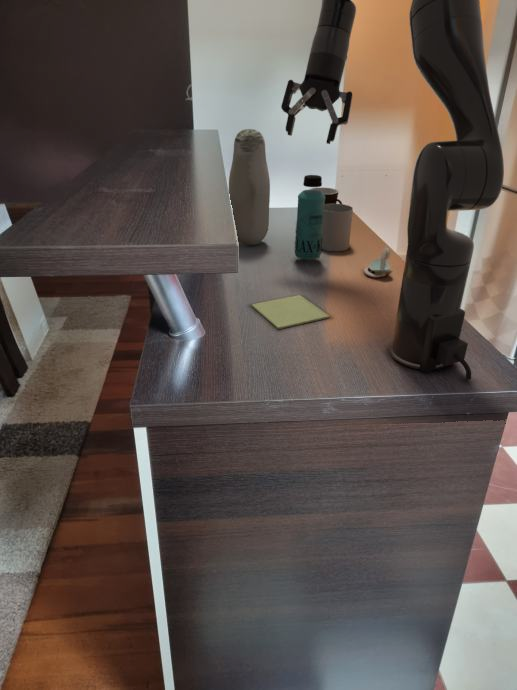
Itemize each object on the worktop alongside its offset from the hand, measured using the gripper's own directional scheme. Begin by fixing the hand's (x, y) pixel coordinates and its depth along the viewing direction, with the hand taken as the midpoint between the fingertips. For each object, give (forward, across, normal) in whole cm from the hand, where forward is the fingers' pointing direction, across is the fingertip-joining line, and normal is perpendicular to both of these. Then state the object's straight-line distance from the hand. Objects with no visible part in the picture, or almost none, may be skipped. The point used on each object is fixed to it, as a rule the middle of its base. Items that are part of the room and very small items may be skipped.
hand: (308, 139), depth 110 cm
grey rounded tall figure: (+26, -11, +19) cm, 34 cm away
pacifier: (+25, +22, +4) cm, 33 cm away
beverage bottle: (+26, +5, +9) cm, 28 cm away
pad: (+34, +6, -19) cm, 39 cm away
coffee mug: (+18, +5, +38) cm, 42 cm away
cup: (+22, +10, +21) cm, 32 cm away
